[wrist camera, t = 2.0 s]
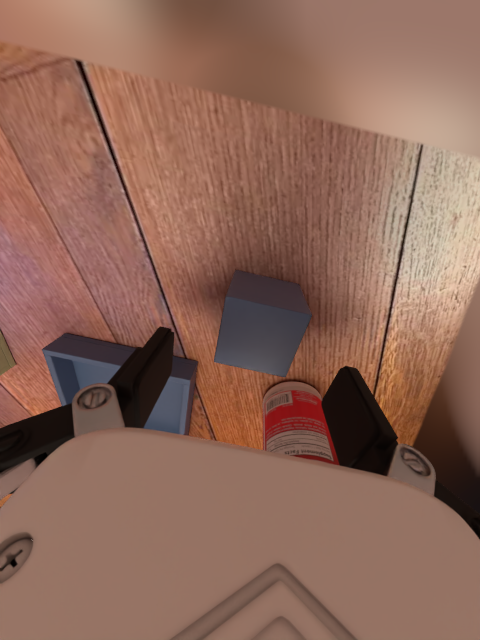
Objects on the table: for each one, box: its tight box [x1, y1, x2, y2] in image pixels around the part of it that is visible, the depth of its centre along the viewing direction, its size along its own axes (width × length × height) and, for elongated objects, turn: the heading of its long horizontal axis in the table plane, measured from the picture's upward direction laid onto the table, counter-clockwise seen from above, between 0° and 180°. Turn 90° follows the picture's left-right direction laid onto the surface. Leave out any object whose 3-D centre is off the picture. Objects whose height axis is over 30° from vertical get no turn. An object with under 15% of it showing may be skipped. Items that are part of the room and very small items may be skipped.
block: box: [214, 270, 312, 377], centre depth 15 cm, size 5×5×5 cm
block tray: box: [42, 333, 198, 436], centre depth 23 cm, size 13×13×3 cm
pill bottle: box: [263, 382, 340, 466], centre depth 18 cm, size 6×6×11 cm
